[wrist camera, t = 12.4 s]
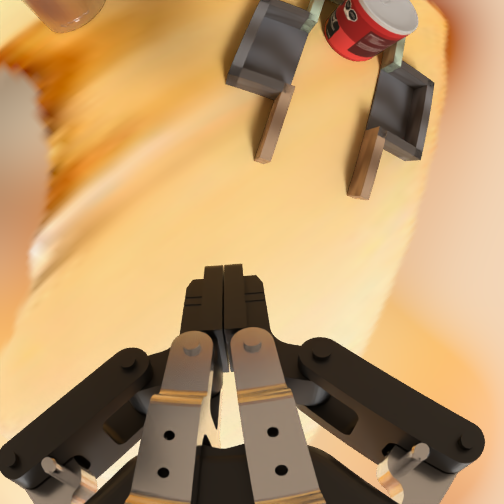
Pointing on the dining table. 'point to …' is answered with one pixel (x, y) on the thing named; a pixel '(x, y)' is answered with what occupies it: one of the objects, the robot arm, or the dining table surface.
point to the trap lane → (280, 89)
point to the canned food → (369, 26)
